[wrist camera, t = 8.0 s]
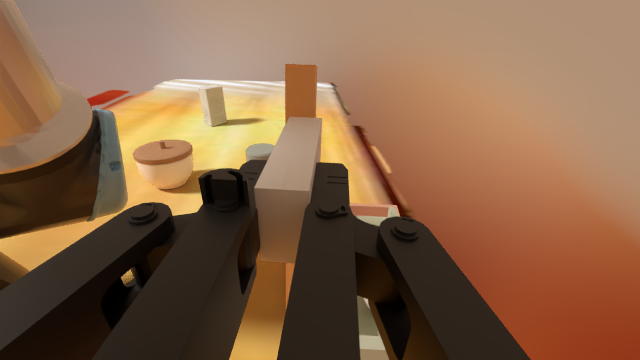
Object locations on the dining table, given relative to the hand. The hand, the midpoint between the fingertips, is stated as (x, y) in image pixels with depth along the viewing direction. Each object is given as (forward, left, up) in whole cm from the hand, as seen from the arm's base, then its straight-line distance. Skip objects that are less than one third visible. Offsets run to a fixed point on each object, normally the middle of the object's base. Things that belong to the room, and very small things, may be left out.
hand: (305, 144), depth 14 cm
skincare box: (+47, +77, -26) cm, 94 cm away
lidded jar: (+16, +50, -26) cm, 58 cm away
